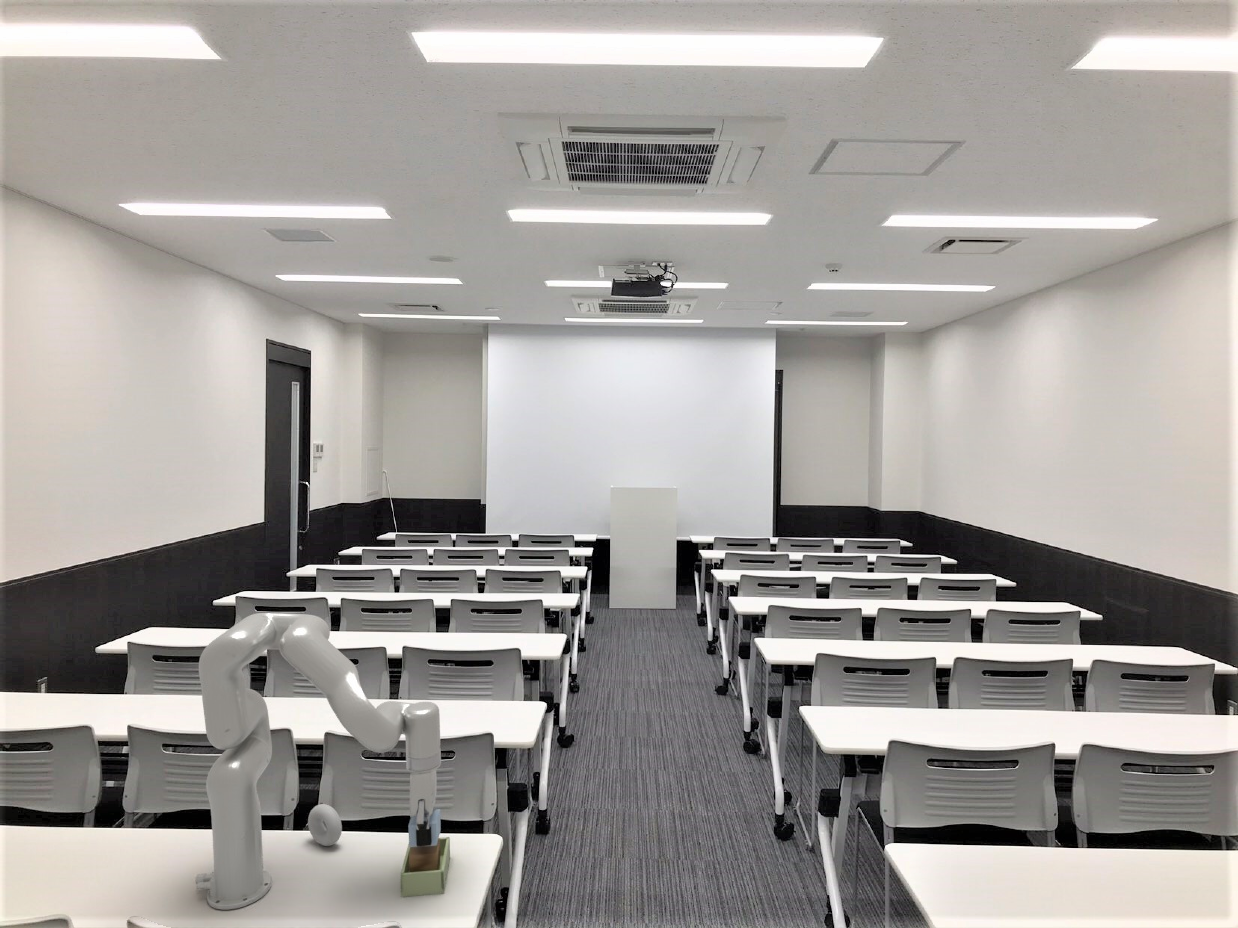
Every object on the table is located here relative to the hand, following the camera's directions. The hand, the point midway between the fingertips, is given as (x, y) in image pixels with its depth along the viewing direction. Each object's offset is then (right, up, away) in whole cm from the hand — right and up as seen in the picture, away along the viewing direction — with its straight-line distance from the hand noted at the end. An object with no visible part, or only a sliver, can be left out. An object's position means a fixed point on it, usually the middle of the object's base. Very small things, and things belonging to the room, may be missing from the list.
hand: (426, 835), depth 168 cm
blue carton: (0, -1, 0) cm, 1 cm away
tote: (0, -9, +1) cm, 10 cm away
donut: (-28, -9, +13) cm, 32 cm away
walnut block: (0, -9, +1) cm, 9 cm away
